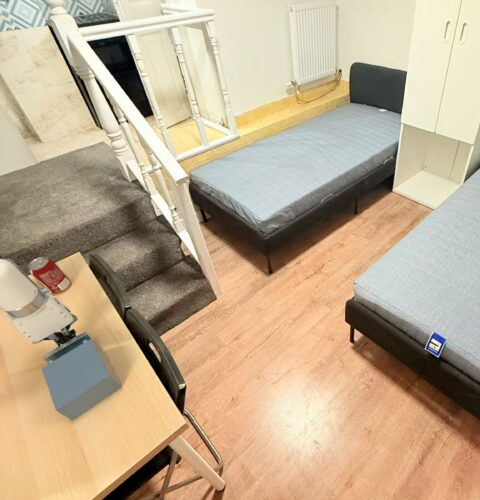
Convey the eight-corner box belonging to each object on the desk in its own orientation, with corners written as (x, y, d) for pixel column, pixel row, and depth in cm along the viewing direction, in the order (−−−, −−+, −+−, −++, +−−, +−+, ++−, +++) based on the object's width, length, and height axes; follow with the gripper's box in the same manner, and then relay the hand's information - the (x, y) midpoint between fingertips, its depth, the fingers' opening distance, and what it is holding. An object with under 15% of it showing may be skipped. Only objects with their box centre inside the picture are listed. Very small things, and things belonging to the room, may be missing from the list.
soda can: (76, 283, 113) (55, 258, 105) (57, 297, 109) (34, 273, 101) (62, 277, 116) (41, 252, 107) (44, 291, 111) (20, 267, 103)
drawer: (52, 353, 94) (36, 340, 89) (91, 330, 99) (78, 317, 94) (70, 403, 84) (54, 391, 79) (113, 374, 89) (101, 362, 84)
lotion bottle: (21, 295, 110) (-25, 253, 96) (41, 286, 113) (-1, 243, 99) (24, 306, 107) (-23, 263, 93) (44, 296, 110) (1, 254, 96)
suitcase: (61, 383, 89) (41, 368, 82) (107, 354, 94) (91, 338, 88) (77, 423, 81) (55, 410, 75) (125, 390, 87) (109, 375, 80)
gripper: (55, 277, 85) (93, 317, 98) (-14, 311, 78) (36, 350, 91) (63, 294, 81) (101, 334, 94) (-10, 332, 74) (42, 369, 87)
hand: (69, 341), depth 93 cm, fingers closed
